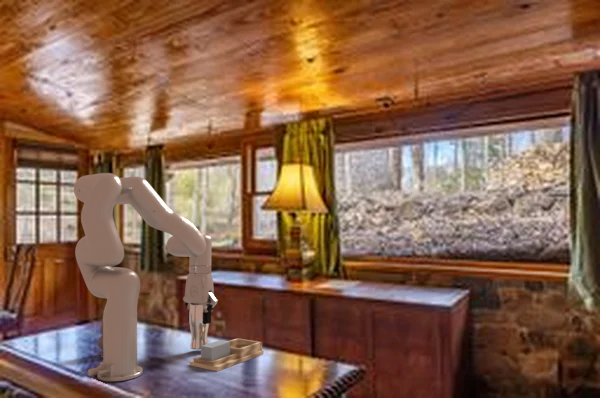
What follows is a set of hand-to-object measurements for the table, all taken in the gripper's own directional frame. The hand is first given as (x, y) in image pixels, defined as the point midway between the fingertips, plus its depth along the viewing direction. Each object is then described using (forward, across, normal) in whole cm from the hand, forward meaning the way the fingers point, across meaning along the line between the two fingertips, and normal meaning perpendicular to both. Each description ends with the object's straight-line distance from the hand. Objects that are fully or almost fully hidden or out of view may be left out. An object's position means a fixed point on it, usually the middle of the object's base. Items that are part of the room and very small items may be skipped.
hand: (199, 322), depth 174 cm
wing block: (+9, +15, -7) cm, 19 cm away
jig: (+10, +15, -2) cm, 18 cm away
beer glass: (+9, 0, 0) cm, 9 cm away
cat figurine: (+11, -23, -19) cm, 32 cm away
